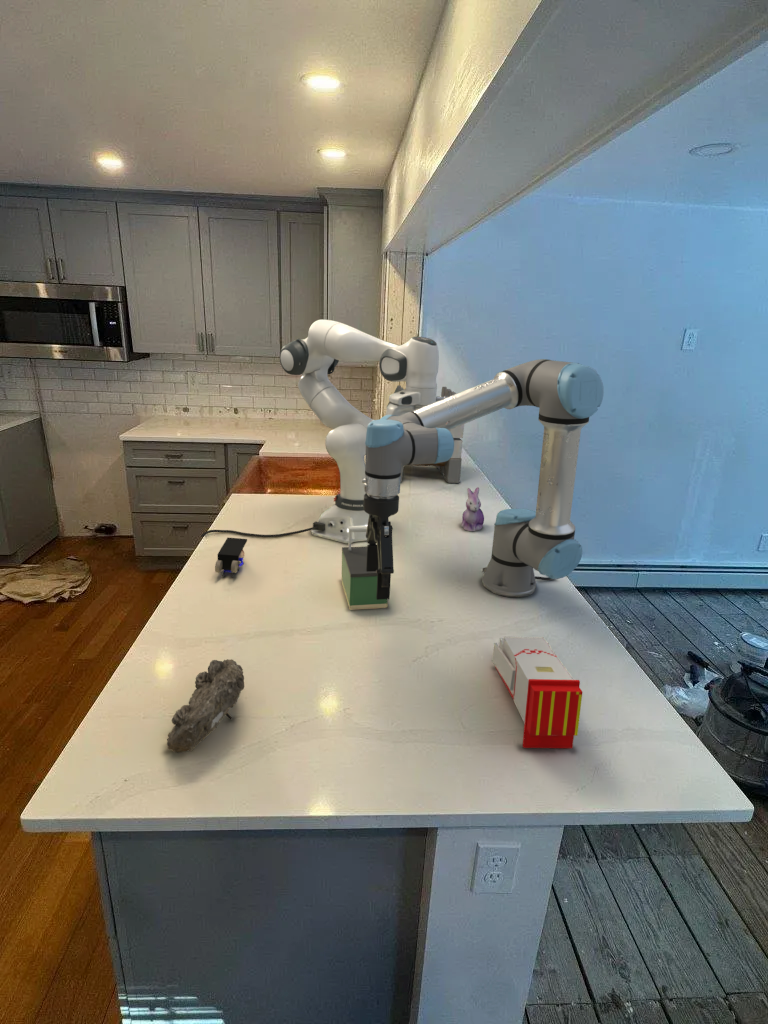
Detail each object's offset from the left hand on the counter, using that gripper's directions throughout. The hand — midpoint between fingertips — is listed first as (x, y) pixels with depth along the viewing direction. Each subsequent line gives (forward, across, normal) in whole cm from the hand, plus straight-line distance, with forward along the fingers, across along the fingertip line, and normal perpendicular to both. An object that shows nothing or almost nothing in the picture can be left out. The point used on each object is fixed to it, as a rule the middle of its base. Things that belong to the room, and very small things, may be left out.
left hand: (417, 444), depth 166 cm
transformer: (+37, -48, -90) cm, 109 cm away
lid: (+28, +22, +15) cm, 39 cm away
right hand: (+21, +29, +41) cm, 54 cm away
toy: (+38, +6, +70) cm, 79 cm away
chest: (+38, +22, +16) cm, 46 cm away
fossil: (+38, +67, +53) cm, 93 cm away
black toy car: (+38, +53, -10) cm, 66 cm away
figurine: (+38, -35, -19) cm, 55 cm away
